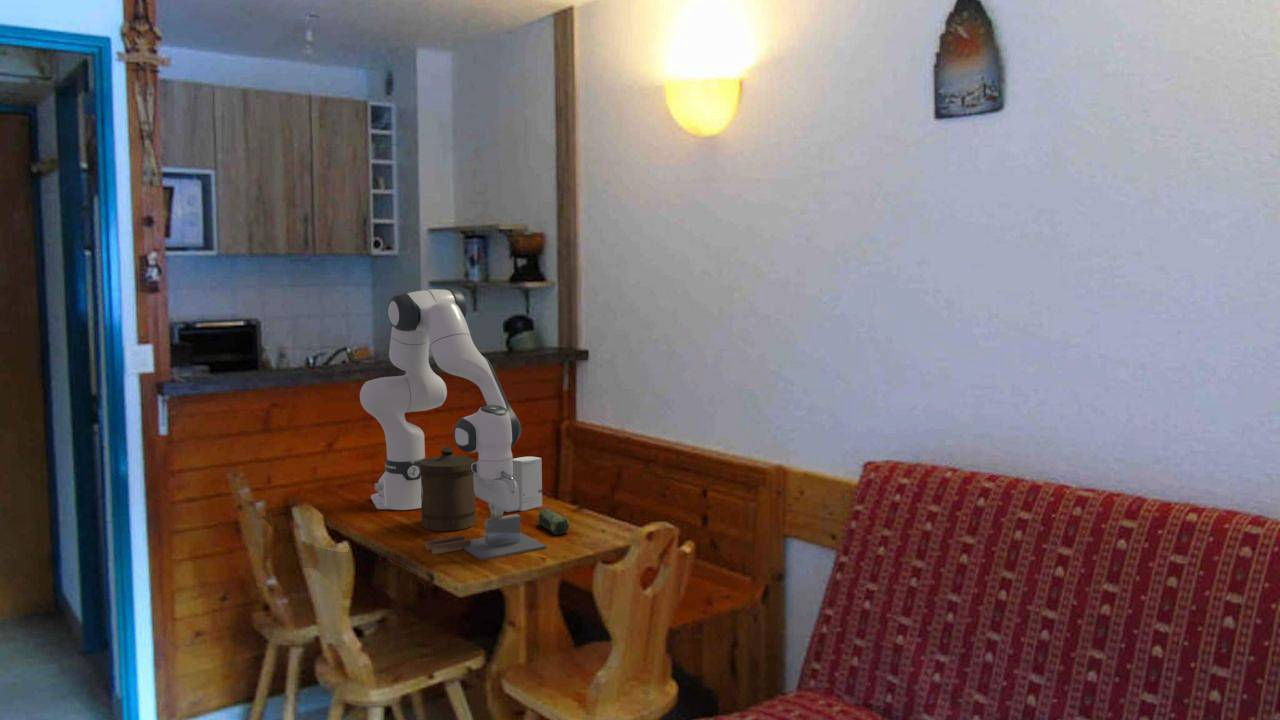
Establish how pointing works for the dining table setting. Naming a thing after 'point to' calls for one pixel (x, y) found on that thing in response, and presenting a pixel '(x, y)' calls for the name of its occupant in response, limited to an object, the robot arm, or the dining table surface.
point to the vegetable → (553, 521)
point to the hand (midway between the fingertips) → (497, 521)
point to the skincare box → (528, 481)
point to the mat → (503, 547)
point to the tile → (502, 530)
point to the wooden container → (447, 492)
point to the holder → (447, 544)
